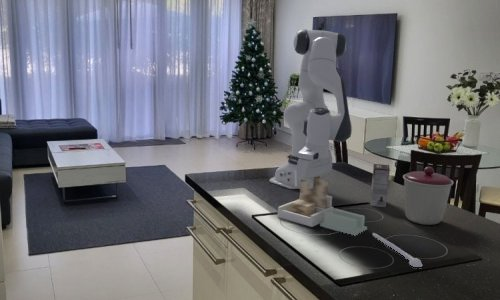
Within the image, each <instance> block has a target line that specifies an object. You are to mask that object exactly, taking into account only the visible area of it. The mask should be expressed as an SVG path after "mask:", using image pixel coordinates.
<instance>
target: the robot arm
mask: <svg viewBox="0 0 500 300" xmlns="http://www.w3.org/2000/svg"><path fill="white" fill-rule="evenodd" d="M293 48H294V51H295V52H296V54H299V55H301V56H303V57H302V59H301V60H302V61H301V65H300V69H299V72H300V73H299V78H298V83H297V84H298V89H299V90H300V92H301V95H302V101H297V102H294V103H291V104H289V105H287V106H286V107H285V109H284V111H283V118H284V121H285V123H286V124H287V125H288V127H289V129H290V133H291V140H292V141H291V142H292V143H291V154H289V155H286V156H285V157H286V159H288V160H287V162H285V163H284V164H282V165H281V166H279V167H278V168H277V169H276V171H275V173H274V176H273V177H271V178H270V179H269V182H270V183H272V184H275V185H278V186H281V187H283V188H287V189H289V190H297V189H298V190H300V184H301V179H302V180H307V179H308V182H309V188H314V187H315V183H314V181H313V180H314V177H318V178H322V177H323V175H326V174H329V173H331V172H332V170H333V156H332V152H331V150H330V141H334V142H339V143H344V142H346V141H347V140H348V139H350V138H351V136H352V131H353V126H352V122H351V118H350V117H351V116H350V112H349V105H348V97H347V96H348V95H347V89H346V84H345V80H344V78H343V77H342V76H341V75H339V73H338V71H337V59H339V58H341V57H342V56H343V55H344V54H345V53H346V48H347V38H346V37H345V35H344V34H343V33H340V32H333V31H328V30H323V29H322V30H320V29H319V30H318V29H317V30H316V29H299V30H298V31H297V32H296V34H295V35H294V38H293ZM324 90H327V91H328V92H329V93H331V94H333V95H334V97H335V98H336V99H335V100H336V107H337V115H331V111H330V110H329V108H328V106H327V105H326V103H325V99H324Z"/></svg>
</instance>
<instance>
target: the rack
mask: <svg viewBox="0 0 500 300" xmlns="http://www.w3.org/2000/svg"><path fill="white" fill-rule="evenodd" d="M298 200H299V198H297V199H296V200H294V201H293V200H292V201H290V202H287V203H284V204H283V205H279V206H277V218H279V219H284V220H286V221H291V222H293V223H297V224H300V225H303V226H307V227H311V228H312V227H315V226H317V225H320V223H322V222H324V213H326V212H330V213H332V209H335V208H334V206H332V204H333V203H332V202H333V196H332V195H328V194H327V204H326V209H324V208H320V207H316V206H315V214H313V215H311V216H310V217H307V216H304V215H300V214H297V213H293V212H292V203H293V202H295V201H298Z"/></svg>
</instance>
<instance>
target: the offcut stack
mask: <svg viewBox="0 0 500 300" xmlns="http://www.w3.org/2000/svg"><path fill="white" fill-rule="evenodd" d="M297 200H298V199H297ZM294 201H295V200H294ZM292 202H293V201H292ZM292 212H293V213H297V214H300V215H304V216H307V217H310V216H311V215H313V214H315V203H311V202H307V201H303V200H298V201H295V202H293V203H292Z"/></svg>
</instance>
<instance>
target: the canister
mask: <svg viewBox="0 0 500 300" xmlns="http://www.w3.org/2000/svg"><path fill="white" fill-rule="evenodd" d="M402 178H403V180H404V181H403V182H404V184H403V186H404V187H403V188H404V190H403V191H404V194H403V195H404V202H403V203H404V214H405V216H406V218H407V219H408V220H409V221H410V222H412V223H416V224H419V225H426V226H427V225H429V226H431V225H432V226H433V225H437V224H439V223H441V222H442V220H443V218H444V215H445V213H446V212H445V211H446V207H447V205H448V204H447V203H448V200H449V197H450V192H451V189H452V188H451V187H452V186H453V185H454V183H455V182H454V180H452V179H450V177H449V176H446V175H444V174H441V173H436V172H435V170H434V168H433V167H431V166H426V167H425V168H424V169H423V171H422V170H420V171H419V170H418V171H410V172H407V173H405V174H403V175H402Z"/></svg>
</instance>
